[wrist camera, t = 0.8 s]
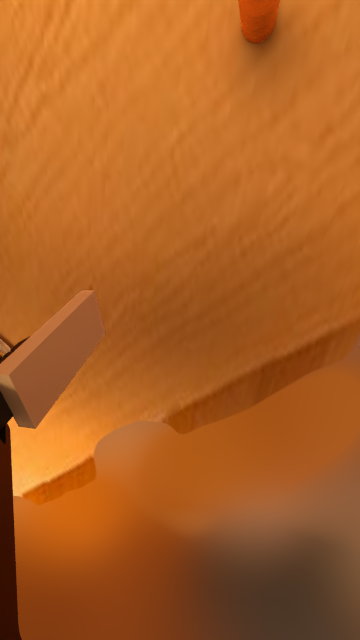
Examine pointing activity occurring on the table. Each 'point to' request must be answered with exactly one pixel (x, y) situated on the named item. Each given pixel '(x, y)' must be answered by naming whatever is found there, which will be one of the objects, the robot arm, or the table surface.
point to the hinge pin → (258, 18)
